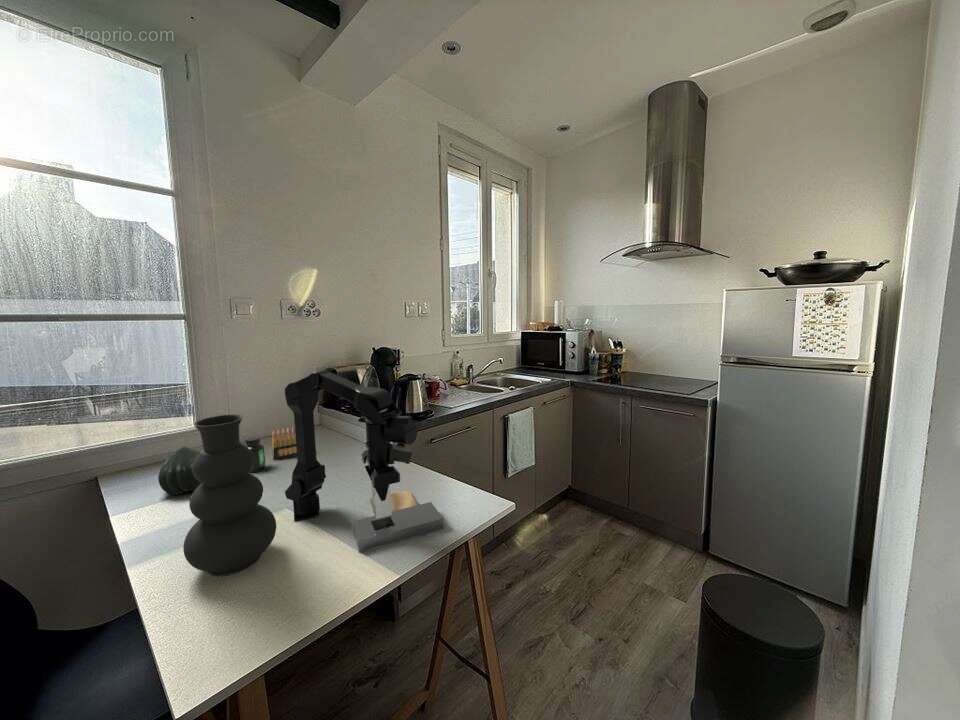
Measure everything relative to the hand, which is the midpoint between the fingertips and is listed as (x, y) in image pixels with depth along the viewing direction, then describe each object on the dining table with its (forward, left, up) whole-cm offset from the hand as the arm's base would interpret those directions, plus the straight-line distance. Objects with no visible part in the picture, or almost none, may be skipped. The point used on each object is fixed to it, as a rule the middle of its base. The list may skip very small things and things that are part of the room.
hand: (381, 496), depth 101 cm
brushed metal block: (0, 0, -5) cm, 5 cm away
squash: (-53, +57, -11) cm, 79 cm away
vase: (-34, +5, -11) cm, 36 cm away
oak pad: (+6, +13, -10) cm, 18 cm away
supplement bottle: (-34, +65, -11) cm, 74 cm away
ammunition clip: (-23, +73, -11) cm, 77 cm away
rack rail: (+4, 0, -10) cm, 11 cm away
